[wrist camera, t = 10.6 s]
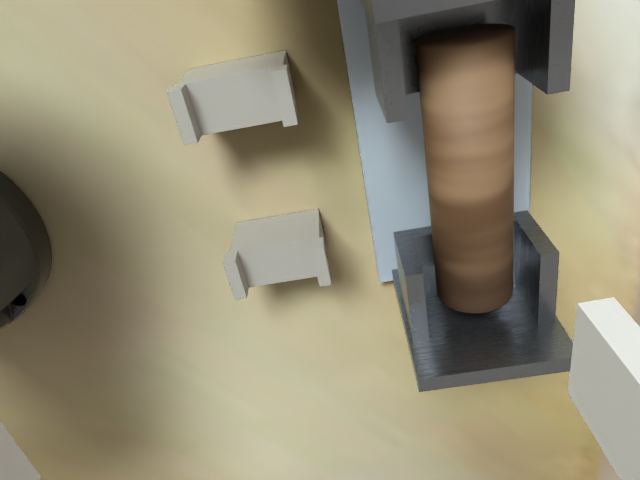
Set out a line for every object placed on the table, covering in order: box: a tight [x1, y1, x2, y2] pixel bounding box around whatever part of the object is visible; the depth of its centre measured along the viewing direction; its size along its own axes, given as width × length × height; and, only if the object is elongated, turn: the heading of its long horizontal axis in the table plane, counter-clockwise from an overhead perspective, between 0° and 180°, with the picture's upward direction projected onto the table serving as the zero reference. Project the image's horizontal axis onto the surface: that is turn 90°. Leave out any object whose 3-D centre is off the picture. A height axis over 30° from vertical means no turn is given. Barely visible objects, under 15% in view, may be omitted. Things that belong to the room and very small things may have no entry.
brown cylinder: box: [416, 23, 515, 313], centre depth 28 cm, size 15×4×4 cm, turn 10°
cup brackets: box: [360, 0, 575, 392], centre depth 29 cm, size 9×21×12 cm, turn 10°
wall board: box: [337, 0, 533, 283], centre depth 34 cm, size 11×21×1 cm, turn 10°
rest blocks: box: [166, 50, 331, 300], centre depth 33 cm, size 6×14×5 cm, turn 10°
